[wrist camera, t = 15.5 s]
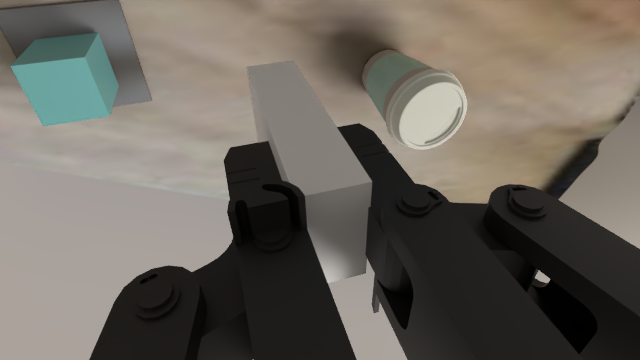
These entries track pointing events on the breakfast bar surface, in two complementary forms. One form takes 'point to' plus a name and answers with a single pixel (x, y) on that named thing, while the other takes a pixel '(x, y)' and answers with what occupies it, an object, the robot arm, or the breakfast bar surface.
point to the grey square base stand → (77, 20)
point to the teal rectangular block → (67, 78)
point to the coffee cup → (414, 99)
